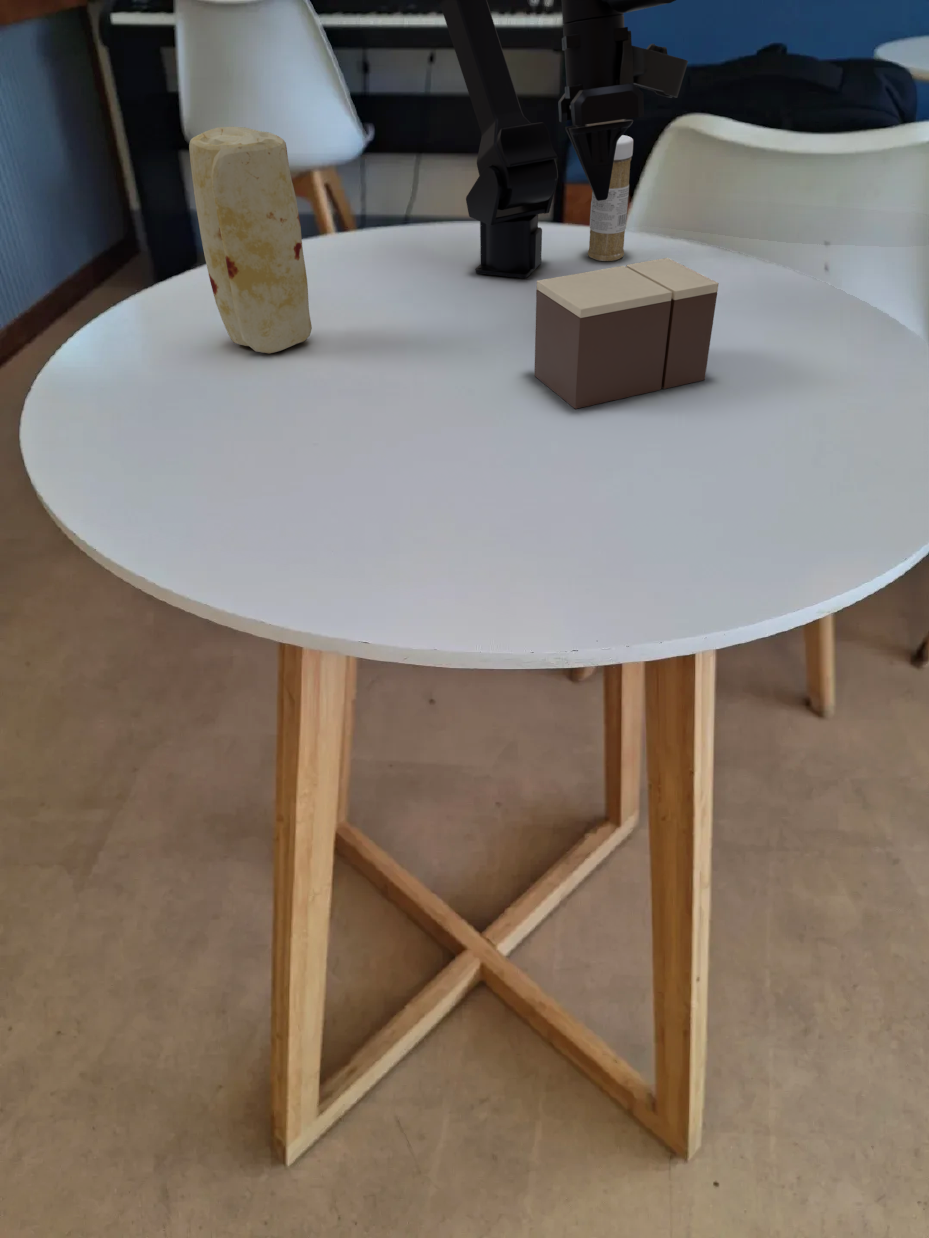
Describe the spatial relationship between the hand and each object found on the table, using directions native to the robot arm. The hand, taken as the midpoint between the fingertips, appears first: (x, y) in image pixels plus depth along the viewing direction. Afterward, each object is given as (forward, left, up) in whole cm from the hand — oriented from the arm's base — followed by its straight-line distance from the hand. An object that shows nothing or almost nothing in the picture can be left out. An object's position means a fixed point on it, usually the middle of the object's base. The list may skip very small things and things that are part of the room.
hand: (601, 200), depth 95 cm
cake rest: (+5, -19, -11) cm, 22 cm away
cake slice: (+10, -14, -11) cm, 20 cm away
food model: (-29, -20, -11) cm, 37 cm away
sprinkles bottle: (-3, +18, -11) cm, 21 cm away
